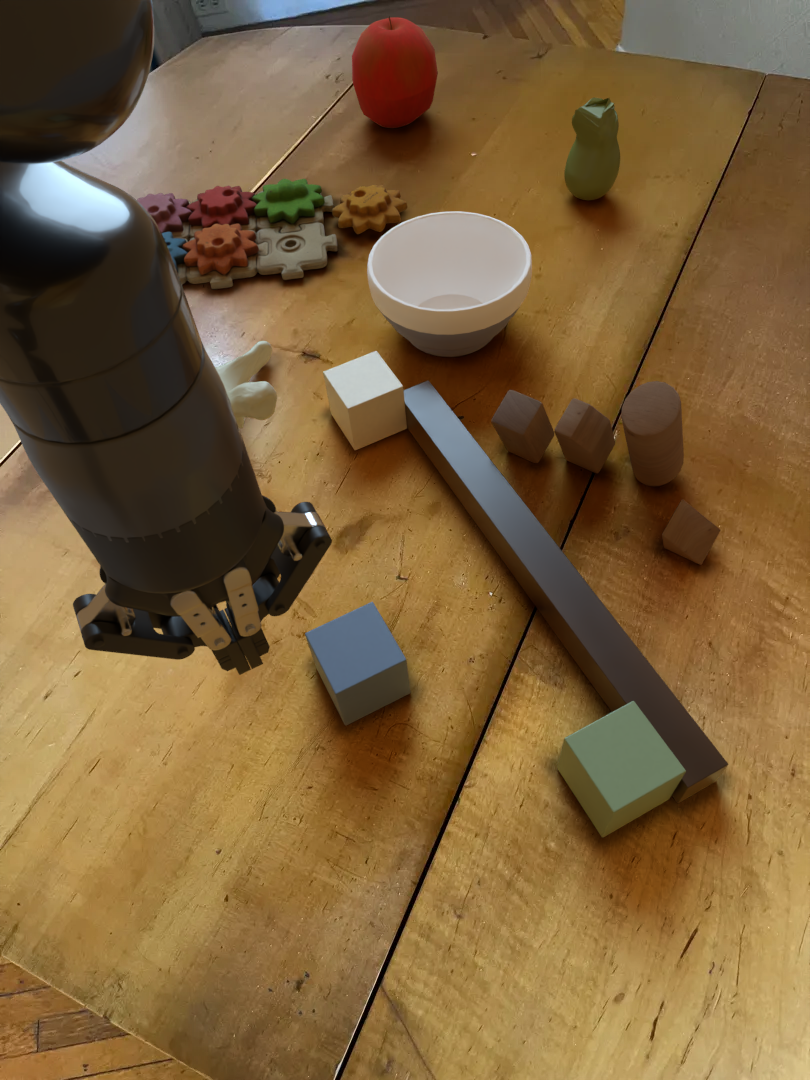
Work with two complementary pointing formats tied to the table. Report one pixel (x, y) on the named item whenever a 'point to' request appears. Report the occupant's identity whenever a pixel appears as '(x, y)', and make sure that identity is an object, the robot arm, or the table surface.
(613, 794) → the green block
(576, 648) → the straightedge
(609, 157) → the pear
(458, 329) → the bowl
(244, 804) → the table surface
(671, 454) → the wooden block set
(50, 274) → the robot arm
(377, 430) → the cream block
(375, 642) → the blue block
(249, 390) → the bone
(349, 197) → the gear puzzle
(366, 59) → the apple
